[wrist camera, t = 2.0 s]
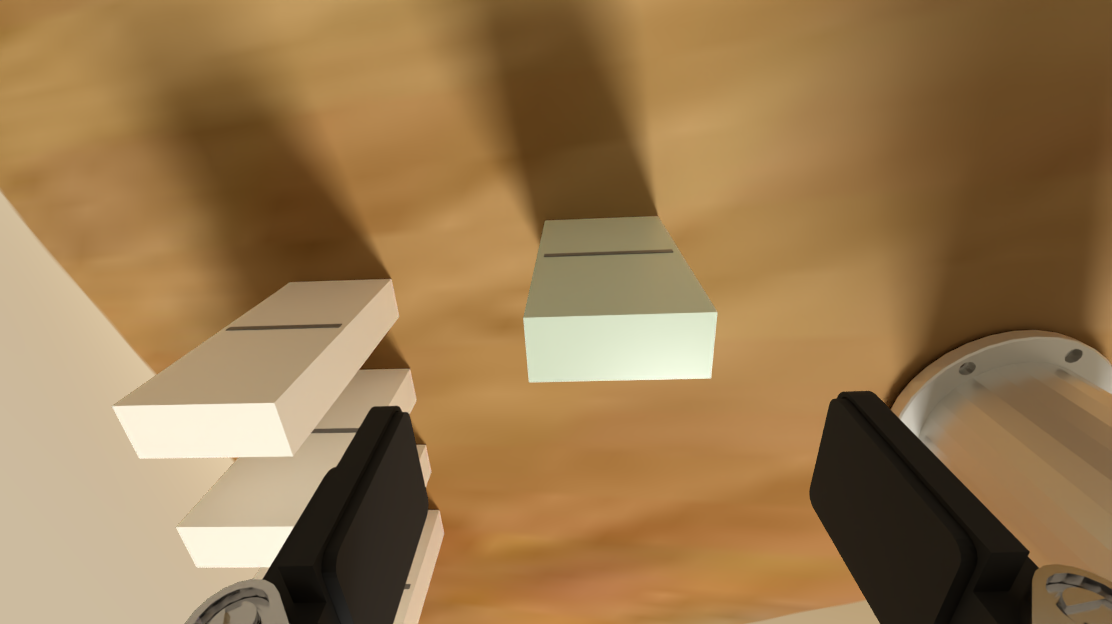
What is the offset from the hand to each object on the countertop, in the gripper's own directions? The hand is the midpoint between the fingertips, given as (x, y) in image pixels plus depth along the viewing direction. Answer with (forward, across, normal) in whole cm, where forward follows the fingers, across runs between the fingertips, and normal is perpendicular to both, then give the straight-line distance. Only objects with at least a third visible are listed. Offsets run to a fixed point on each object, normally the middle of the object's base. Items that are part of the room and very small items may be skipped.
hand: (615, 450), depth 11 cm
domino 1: (+17, +14, +4) cm, 23 cm away
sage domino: (+17, -1, 0) cm, 17 cm away
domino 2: (+17, +14, +10) cm, 24 cm away
